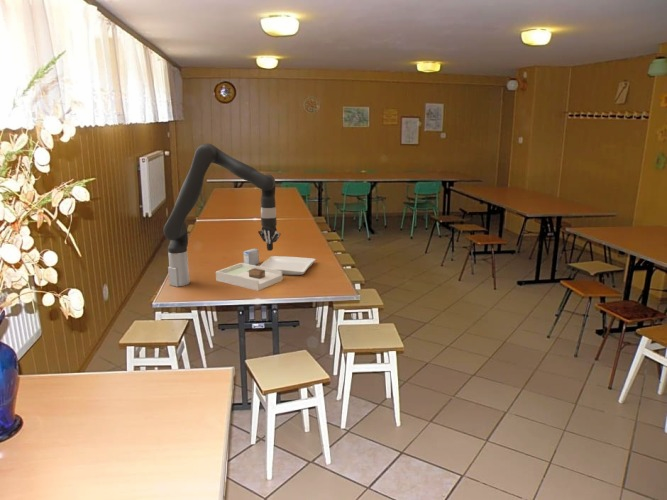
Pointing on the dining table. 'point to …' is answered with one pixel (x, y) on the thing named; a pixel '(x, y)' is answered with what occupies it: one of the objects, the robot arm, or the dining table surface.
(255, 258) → the medicine box
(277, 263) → the square plate
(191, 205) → the robot arm
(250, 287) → the box
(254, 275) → the walnut block
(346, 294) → the dining table surface
